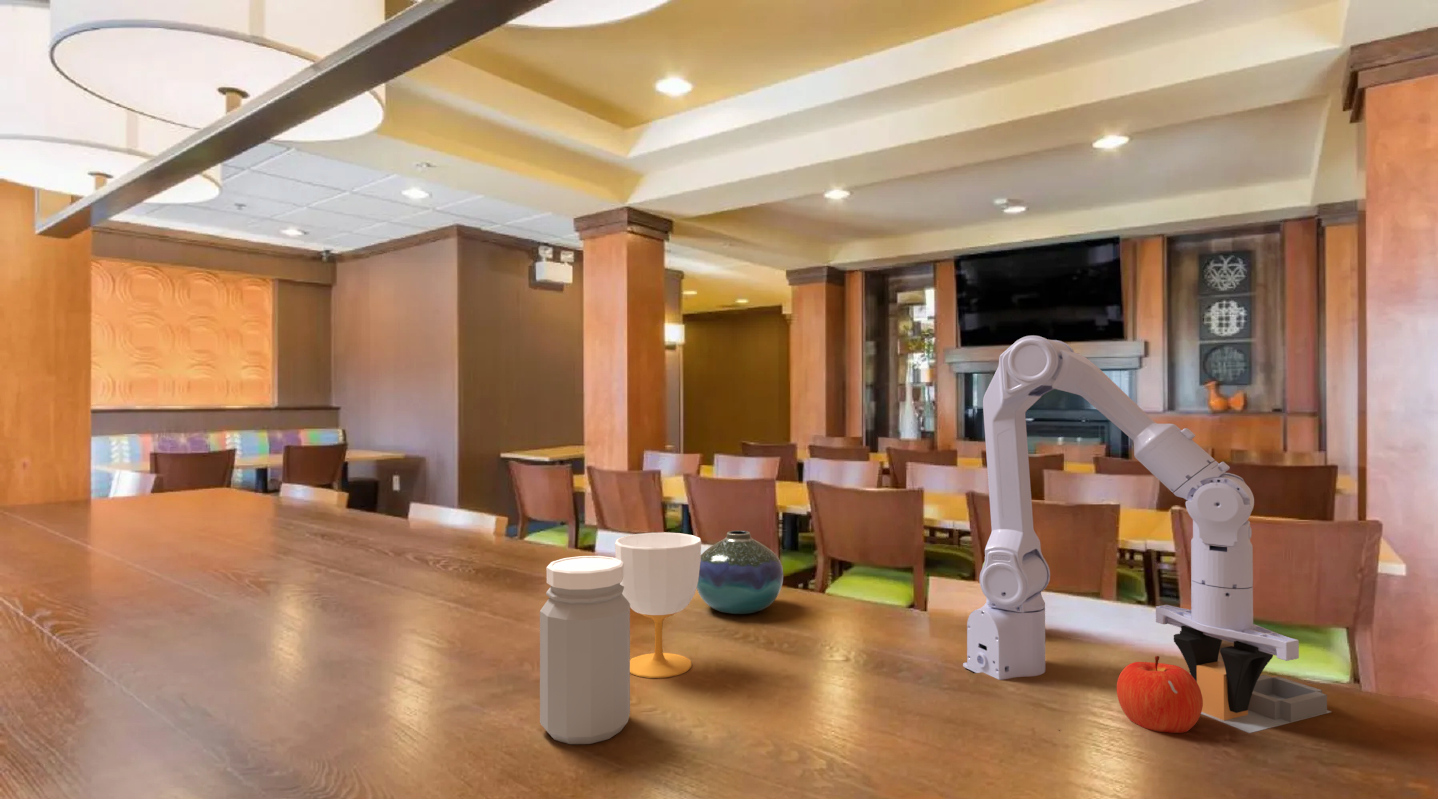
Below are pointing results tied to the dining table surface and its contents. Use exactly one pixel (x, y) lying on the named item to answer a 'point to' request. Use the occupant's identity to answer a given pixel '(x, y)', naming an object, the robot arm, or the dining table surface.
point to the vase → (739, 575)
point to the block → (1215, 691)
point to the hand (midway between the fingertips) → (1222, 704)
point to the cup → (659, 589)
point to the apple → (1159, 696)
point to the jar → (585, 650)
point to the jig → (1278, 704)
